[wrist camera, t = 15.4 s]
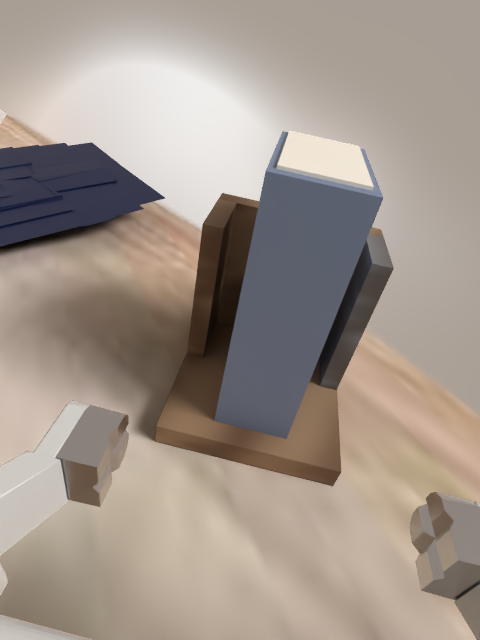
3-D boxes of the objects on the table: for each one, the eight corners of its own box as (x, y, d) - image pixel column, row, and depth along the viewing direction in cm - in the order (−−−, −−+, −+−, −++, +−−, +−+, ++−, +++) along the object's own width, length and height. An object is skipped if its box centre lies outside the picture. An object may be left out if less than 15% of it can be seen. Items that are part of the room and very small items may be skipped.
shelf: (155, 441, 24) (165, 281, 17) (202, 324, 33) (221, 192, 26) (332, 485, 23) (418, 341, 16) (328, 355, 33) (381, 229, 26)
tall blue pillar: (214, 420, 24) (266, 166, 15) (237, 339, 30) (283, 128, 21) (286, 439, 24) (384, 194, 14) (293, 353, 30) (365, 146, 21)
